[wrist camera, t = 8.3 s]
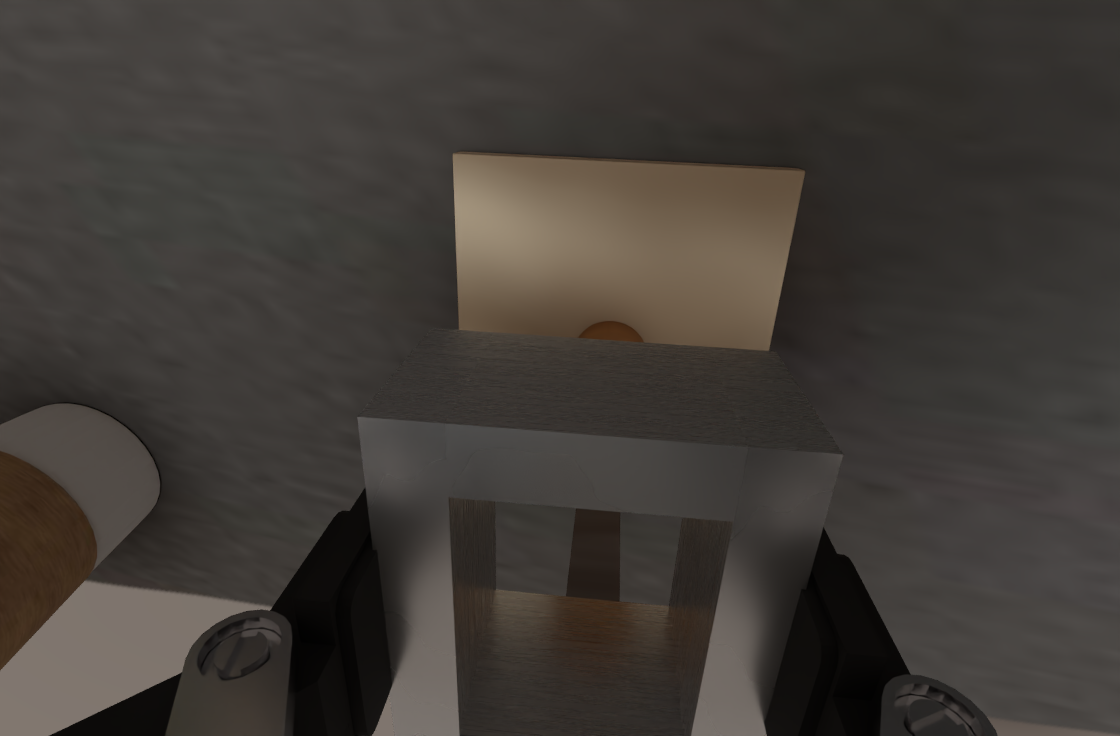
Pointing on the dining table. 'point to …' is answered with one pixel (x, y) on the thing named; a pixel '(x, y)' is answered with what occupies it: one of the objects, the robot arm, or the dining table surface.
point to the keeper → (620, 269)
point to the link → (598, 484)
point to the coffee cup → (63, 508)
